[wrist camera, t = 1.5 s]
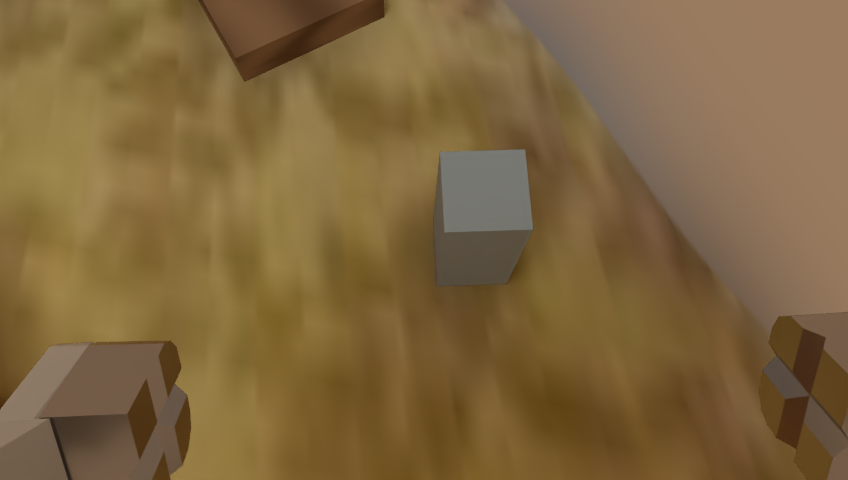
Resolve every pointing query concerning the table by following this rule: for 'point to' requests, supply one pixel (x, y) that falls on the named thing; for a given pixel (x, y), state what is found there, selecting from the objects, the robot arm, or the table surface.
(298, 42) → the base slab
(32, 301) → the table surface
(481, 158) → the pillar
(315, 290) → the table surface
